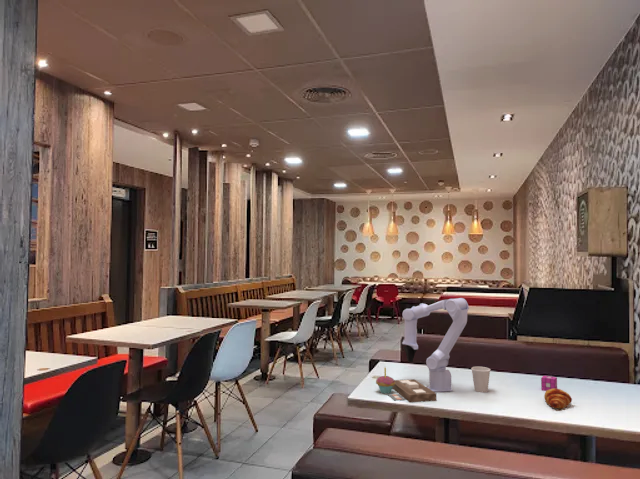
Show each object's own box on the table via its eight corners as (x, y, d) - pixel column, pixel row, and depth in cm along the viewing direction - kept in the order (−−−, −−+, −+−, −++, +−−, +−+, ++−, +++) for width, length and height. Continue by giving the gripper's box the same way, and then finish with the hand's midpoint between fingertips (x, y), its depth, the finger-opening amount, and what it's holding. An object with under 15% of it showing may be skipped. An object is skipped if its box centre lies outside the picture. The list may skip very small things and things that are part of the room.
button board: (414, 385, 217) (414, 379, 217) (436, 400, 193) (436, 393, 193) (390, 386, 214) (390, 380, 215) (409, 402, 191) (409, 394, 191)
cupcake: (394, 395, 201) (394, 367, 201) (375, 394, 202) (375, 366, 203) (395, 390, 209) (395, 363, 210) (376, 389, 211) (376, 362, 211)
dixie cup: (480, 394, 204) (479, 371, 204) (467, 389, 211) (467, 367, 212) (494, 392, 207) (494, 369, 207) (481, 387, 214) (481, 365, 215)
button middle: (414, 388, 206) (414, 381, 207) (418, 391, 202) (418, 384, 202) (405, 388, 206) (405, 382, 206) (409, 391, 201) (409, 384, 202)
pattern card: (399, 394, 202) (399, 393, 202) (405, 400, 194) (405, 399, 194) (388, 395, 201) (388, 394, 201) (394, 400, 193) (394, 399, 193)
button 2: (421, 396, 199) (421, 389, 199) (426, 399, 194) (426, 392, 194) (412, 396, 198) (412, 389, 198) (416, 399, 193) (416, 392, 194)
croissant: (551, 404, 200) (541, 387, 203) (574, 396, 196) (564, 378, 199) (549, 417, 182) (538, 398, 184) (574, 409, 178) (563, 389, 180)
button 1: (408, 386, 214) (408, 380, 214) (411, 389, 210) (411, 382, 210) (399, 386, 213) (399, 380, 214) (402, 389, 209) (402, 382, 209)
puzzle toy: (541, 390, 210) (541, 377, 211) (543, 387, 215) (543, 375, 215) (555, 392, 207) (554, 379, 207) (557, 389, 212) (556, 377, 212)
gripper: (397, 331, 228) (397, 358, 228) (408, 336, 214) (408, 365, 214) (410, 330, 230) (410, 358, 229) (422, 335, 215) (422, 364, 215)
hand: (410, 361), depth 221 cm, fingers closed
